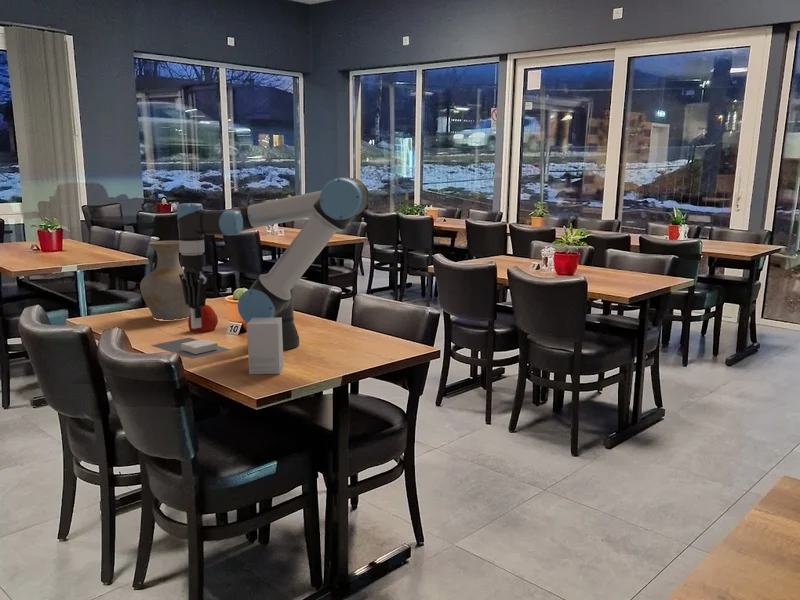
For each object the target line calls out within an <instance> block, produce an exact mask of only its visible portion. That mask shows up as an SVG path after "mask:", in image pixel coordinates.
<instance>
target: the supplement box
mask: <svg viewBox="0 0 800 600" xmlns="http://www.w3.org/2000/svg"><path fill="white" fill-rule="evenodd" d="M246 334H247V335H246V337H247V354H248V355H247V356H248V359H247V360H248V374H249V375H279V374H281V371H282V370H283V368H284V350H283V340H282V318H281V317H280V318H252V319H251V320H250V321H249V322H248V323H246Z"/></svg>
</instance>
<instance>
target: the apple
mask: <svg viewBox="0 0 800 600" xmlns="http://www.w3.org/2000/svg"><path fill="white" fill-rule="evenodd" d="M190 314H191V313H190ZM218 322H219V320H218V316H217V313H216V311H215V310H214V309H213V308H212V307H211V306H210V305H209V304H205V306H203V307H201V326H202V327H201V328H195V329H193V328H191V315H189V318H188V324H187V325H188V329H189V331H190V332H192V333H208V332H213V331H215V330H216V328H217V325H218Z"/></svg>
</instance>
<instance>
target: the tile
mask: <svg viewBox="0 0 800 600" xmlns="http://www.w3.org/2000/svg"><path fill="white" fill-rule="evenodd" d="M218 346H219V345H218V342H216V341H212V340H207V339H204V338H202V339H196V341H191V342H186V343H182V344H181V350H184V351H187V352H190V353H193V354H199V353H203V352H207V351H212V350H216V349H218Z"/></svg>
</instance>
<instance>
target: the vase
mask: <svg viewBox="0 0 800 600" xmlns="http://www.w3.org/2000/svg"><path fill="white" fill-rule="evenodd" d="M148 244H149V246H150V248H152V249H154V250H155V252H156V256H157V258H156V259H157V264H156V267H155V269H154V270H152V271H151V272H149V273H147V274H146V275H145V276H144V277H143V278H142V279H141V281H140V283H139V284H140V285H139V288H140V290H139V291H140V293H141V296H142V299H143V301H144V303H145V304H146V305H147V308H148V310H149V311H150V313H151V315H152V318H153V317H154V318H156V319H163V320H174V319H182V318H187V317H189V315H190V307H189V305H188V304H187V305H186V304H185V299H184V293H183V288H182V283H181V280H180V277H179V275H180V274H183V273H184V267H182V266H181V265H180V255H179V253H180V252H179V240H158V241H150V242H148Z"/></svg>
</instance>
